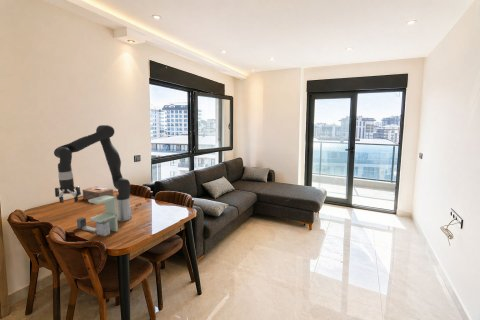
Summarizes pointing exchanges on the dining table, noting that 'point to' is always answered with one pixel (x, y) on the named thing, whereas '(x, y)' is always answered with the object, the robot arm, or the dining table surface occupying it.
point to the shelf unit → (107, 211)
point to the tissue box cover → (96, 192)
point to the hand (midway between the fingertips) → (69, 202)
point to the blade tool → (84, 225)
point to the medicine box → (102, 228)
